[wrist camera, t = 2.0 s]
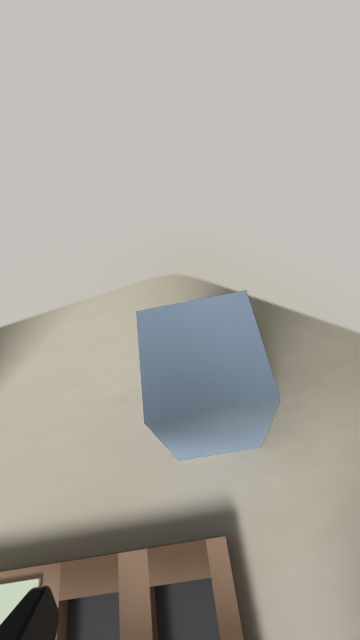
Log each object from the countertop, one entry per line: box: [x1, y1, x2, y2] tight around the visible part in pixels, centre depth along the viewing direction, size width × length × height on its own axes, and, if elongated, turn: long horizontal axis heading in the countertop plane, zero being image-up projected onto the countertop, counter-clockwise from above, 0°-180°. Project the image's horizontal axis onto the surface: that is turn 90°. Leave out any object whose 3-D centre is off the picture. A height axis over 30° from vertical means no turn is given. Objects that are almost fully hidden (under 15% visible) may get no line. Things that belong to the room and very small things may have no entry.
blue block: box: [136, 290, 280, 461], centre depth 17 cm, size 5×5×9 cm
